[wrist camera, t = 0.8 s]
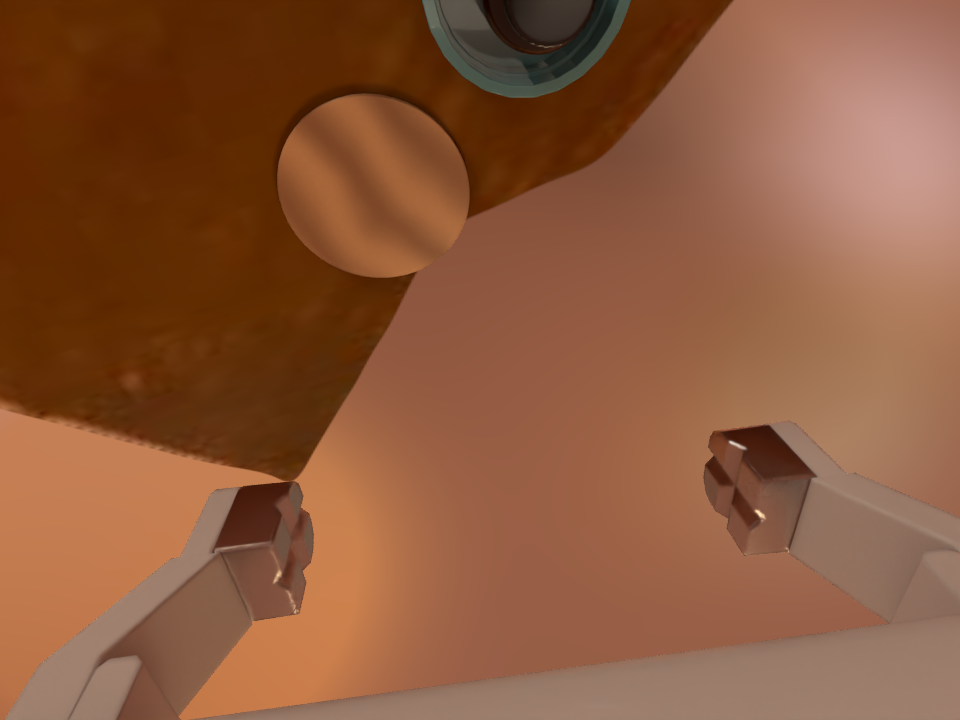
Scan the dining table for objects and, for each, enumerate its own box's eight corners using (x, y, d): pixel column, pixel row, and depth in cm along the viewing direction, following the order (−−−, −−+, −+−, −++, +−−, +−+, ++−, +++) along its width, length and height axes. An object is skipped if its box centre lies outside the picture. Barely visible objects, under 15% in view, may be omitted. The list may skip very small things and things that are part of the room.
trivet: (359, 43, 39) (359, 45, 39) (507, 190, 47) (508, 193, 47) (239, 197, 45) (238, 200, 45) (388, 303, 54) (388, 307, 53)
